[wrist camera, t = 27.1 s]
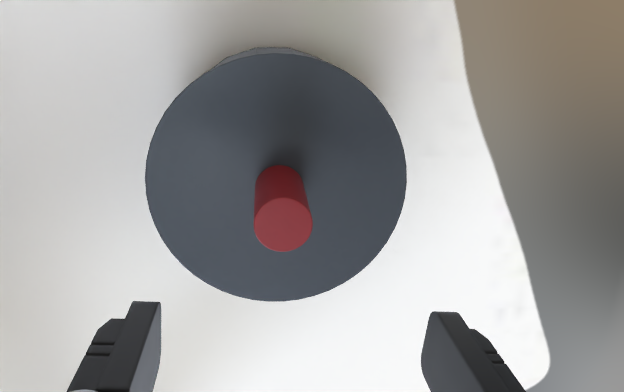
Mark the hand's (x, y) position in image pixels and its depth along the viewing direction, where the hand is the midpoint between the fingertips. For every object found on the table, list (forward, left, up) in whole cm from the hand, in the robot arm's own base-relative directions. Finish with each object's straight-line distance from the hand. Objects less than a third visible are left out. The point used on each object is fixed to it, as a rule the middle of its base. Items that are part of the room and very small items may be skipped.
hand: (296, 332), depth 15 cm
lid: (0, 0, -15) cm, 15 cm away
